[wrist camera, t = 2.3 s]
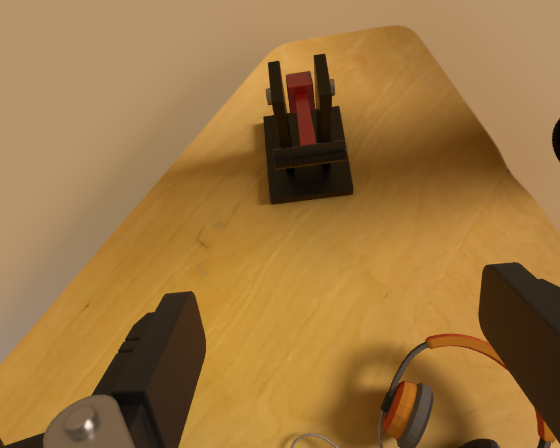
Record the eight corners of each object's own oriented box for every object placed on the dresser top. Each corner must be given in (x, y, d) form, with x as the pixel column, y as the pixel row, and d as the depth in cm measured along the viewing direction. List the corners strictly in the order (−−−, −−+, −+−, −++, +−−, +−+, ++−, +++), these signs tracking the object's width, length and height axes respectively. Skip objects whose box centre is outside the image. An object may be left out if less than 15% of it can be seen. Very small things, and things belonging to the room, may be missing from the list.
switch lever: (347, 170, 27) (346, 140, 25) (277, 179, 27) (271, 150, 25) (327, 93, 35) (325, 68, 34) (274, 101, 36) (270, 76, 34)
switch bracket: (352, 194, 42) (363, 124, 30) (271, 204, 42) (250, 140, 30) (338, 112, 46) (342, 21, 34) (264, 122, 46) (243, 37, 34)
